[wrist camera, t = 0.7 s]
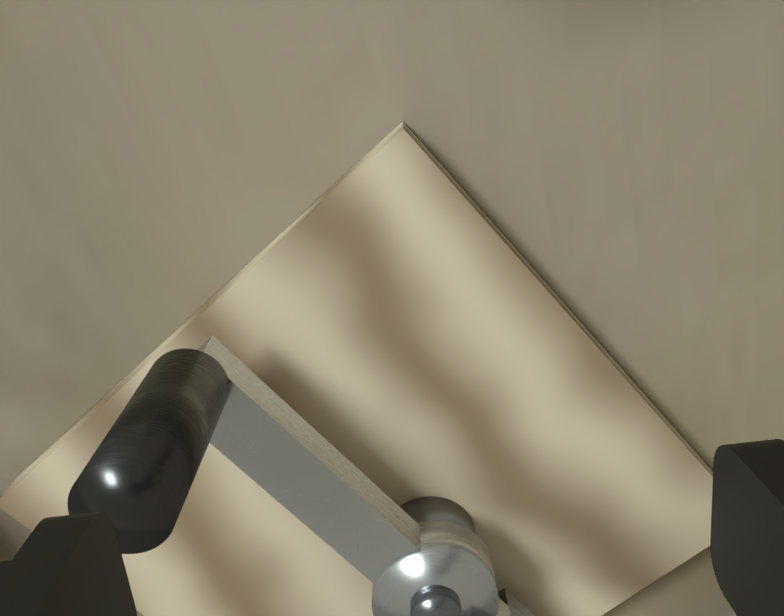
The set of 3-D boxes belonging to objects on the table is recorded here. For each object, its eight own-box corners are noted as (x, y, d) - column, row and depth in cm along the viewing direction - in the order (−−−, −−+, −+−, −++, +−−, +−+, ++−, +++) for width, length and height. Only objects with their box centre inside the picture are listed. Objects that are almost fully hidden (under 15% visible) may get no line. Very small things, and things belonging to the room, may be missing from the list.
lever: (224, 284, 27) (144, 419, 18) (570, 611, 33) (637, 835, 24) (135, 367, 29) (19, 531, 20) (483, 668, 34) (516, 901, 25)
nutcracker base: (402, 120, 29) (406, 153, 22) (731, 492, 35) (809, 602, 28) (16, 477, 35) (-70, 586, 28) (357, 739, 41) (351, 877, 34)
